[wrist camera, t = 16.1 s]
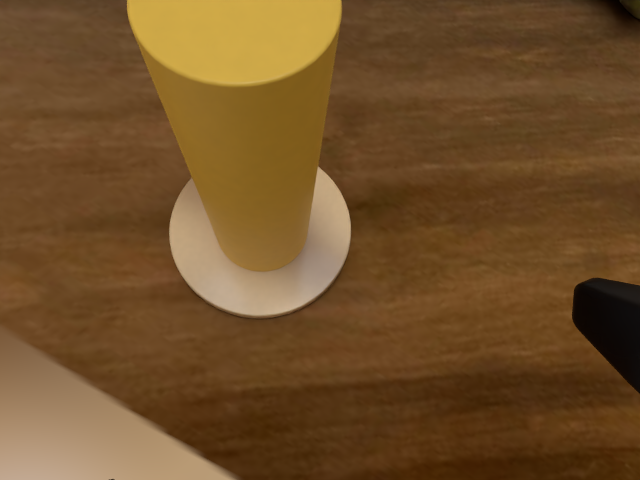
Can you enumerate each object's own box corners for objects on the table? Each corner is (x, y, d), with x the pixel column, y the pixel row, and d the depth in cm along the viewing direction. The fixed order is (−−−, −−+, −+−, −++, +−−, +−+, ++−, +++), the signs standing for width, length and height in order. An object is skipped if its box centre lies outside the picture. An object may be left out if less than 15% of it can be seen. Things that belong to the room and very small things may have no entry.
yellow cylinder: (322, 250, 19) (378, 45, 8) (237, 286, 19) (168, 115, 7) (285, 175, 21) (289, -97, 9) (203, 206, 20) (97, -51, 8)
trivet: (303, 350, 18) (303, 349, 18) (136, 269, 19) (131, 265, 19) (375, 196, 21) (378, 190, 21) (227, 129, 22) (226, 121, 21)
